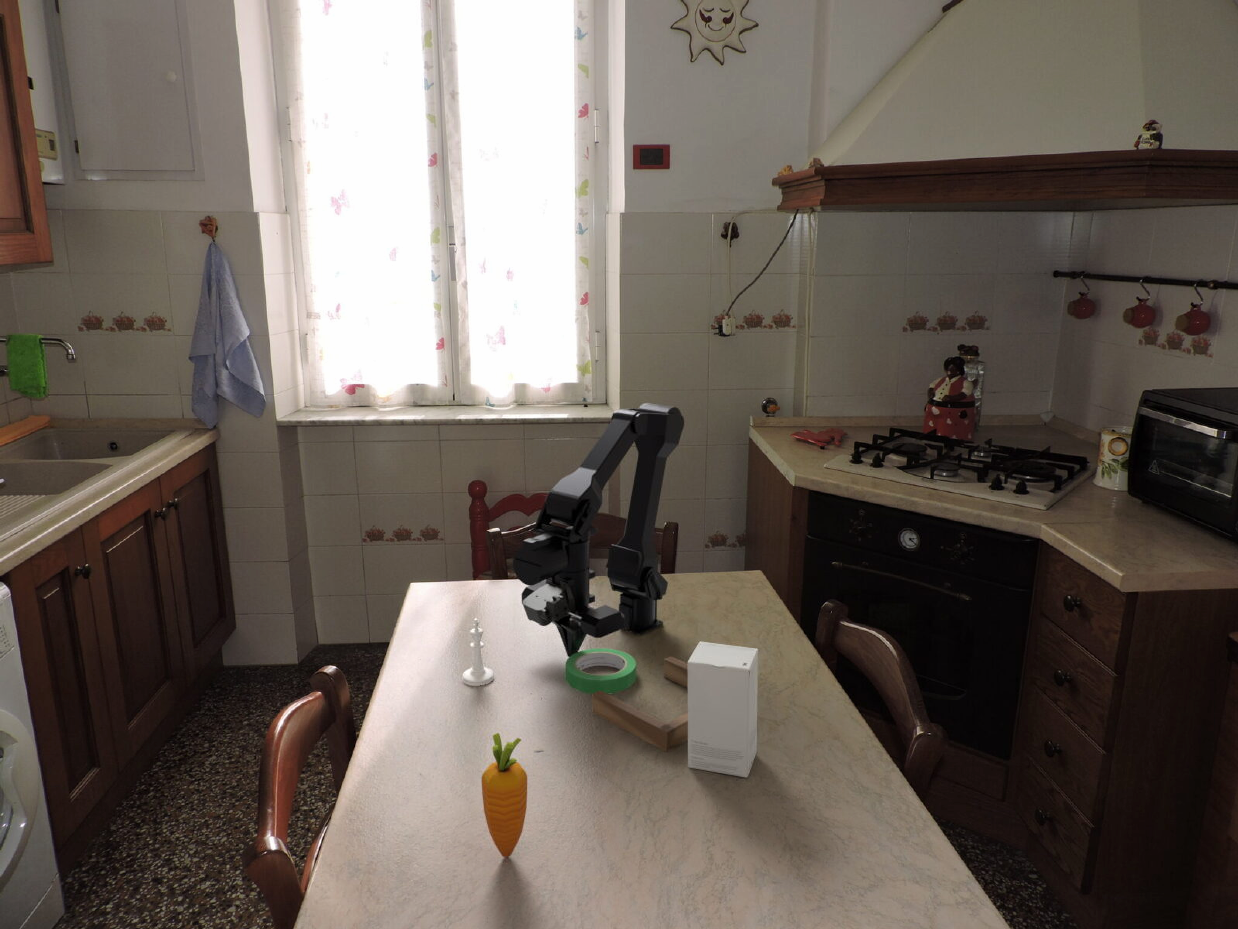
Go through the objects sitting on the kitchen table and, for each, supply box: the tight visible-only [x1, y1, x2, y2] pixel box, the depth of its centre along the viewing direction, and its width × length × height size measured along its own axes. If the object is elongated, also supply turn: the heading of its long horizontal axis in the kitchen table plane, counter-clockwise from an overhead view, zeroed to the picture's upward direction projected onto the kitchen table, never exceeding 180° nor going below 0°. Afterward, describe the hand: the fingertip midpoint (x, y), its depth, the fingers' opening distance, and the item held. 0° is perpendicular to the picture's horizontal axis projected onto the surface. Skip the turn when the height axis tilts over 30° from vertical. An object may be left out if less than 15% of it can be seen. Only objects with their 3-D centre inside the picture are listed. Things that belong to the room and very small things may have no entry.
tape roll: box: [564, 647, 637, 695], centre depth 144 cm, size 11×11×3 cm
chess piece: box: [461, 618, 495, 687], centre depth 142 cm, size 5×5×10 cm
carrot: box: [481, 732, 528, 859], centre depth 101 cm, size 5×5×15 cm
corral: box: [591, 656, 688, 753], centre depth 134 cm, size 17×14×3 cm
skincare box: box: [687, 641, 759, 778], centre depth 120 cm, size 8×7×16 cm
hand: (571, 656), depth 148 cm, fingers closed
